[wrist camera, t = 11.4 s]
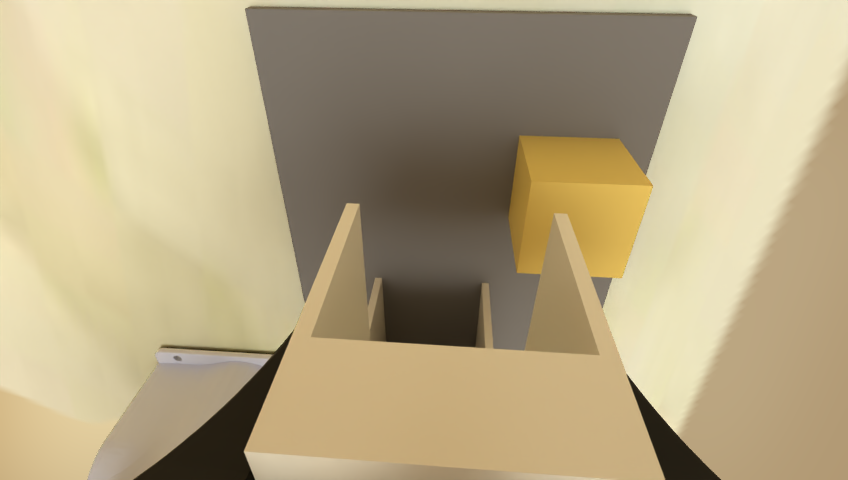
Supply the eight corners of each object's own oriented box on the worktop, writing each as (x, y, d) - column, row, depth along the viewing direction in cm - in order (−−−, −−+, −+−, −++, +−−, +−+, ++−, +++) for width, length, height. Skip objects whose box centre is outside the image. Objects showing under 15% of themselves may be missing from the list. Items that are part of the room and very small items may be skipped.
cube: (508, 217, 21) (516, 272, 17) (519, 135, 18) (531, 181, 15) (596, 221, 20) (621, 278, 17) (619, 138, 18) (653, 186, 15)
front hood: (361, 350, 15) (302, 598, 10) (346, 203, 12) (243, 451, 6) (532, 361, 15) (575, 623, 9) (567, 213, 12) (667, 483, 6)
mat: (320, 364, 29) (318, 371, 28) (250, 6, 17) (245, 8, 16) (574, 380, 28) (576, 387, 27) (691, 14, 16) (697, 16, 15)
